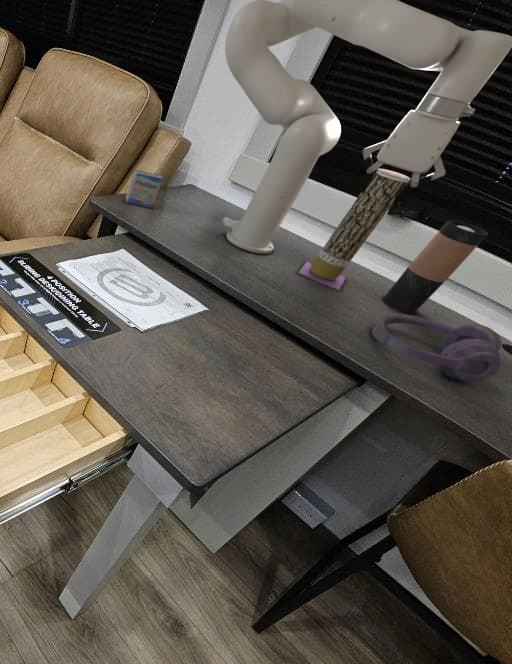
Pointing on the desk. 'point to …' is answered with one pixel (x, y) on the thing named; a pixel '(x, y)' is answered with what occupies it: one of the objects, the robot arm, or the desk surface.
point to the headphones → (450, 347)
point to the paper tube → (359, 223)
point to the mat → (333, 284)
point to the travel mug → (434, 265)
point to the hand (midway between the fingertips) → (377, 196)
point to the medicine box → (143, 188)
